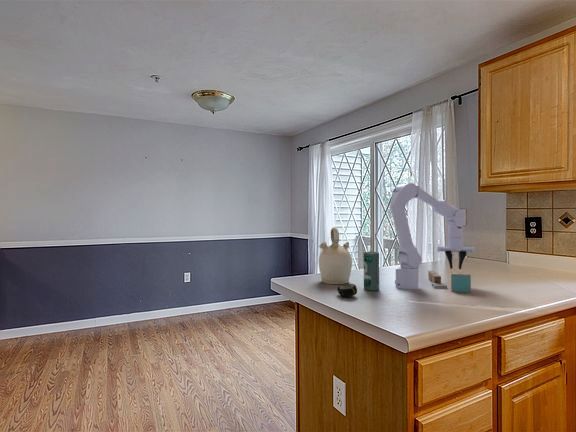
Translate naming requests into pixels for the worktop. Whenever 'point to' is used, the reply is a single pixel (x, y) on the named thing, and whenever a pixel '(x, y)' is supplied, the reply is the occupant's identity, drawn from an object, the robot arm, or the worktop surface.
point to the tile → (460, 282)
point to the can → (371, 270)
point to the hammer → (436, 280)
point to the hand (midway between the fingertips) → (455, 268)
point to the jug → (335, 261)
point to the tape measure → (347, 290)
